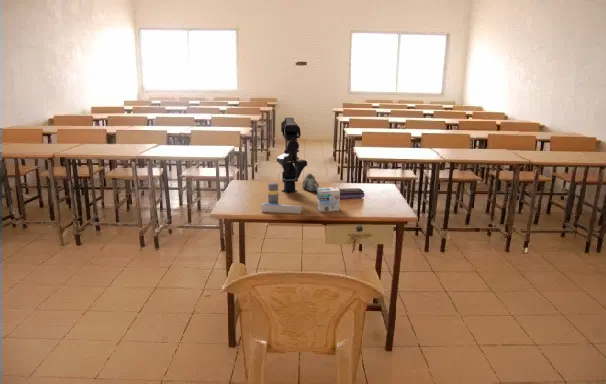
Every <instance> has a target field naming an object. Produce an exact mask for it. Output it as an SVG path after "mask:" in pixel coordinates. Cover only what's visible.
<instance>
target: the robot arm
mask: <svg viewBox="0 0 606 384" xmlns="http://www.w3.org/2000/svg"><path fill="white" fill-rule="evenodd" d="M294 120H295V119H294V117H284V120H283V121H281V123H280V132H281V133H282V134H281V135H282V137H283V139H284V144H285V145H284V146H285V147H284V151H283V153H282V154H280V155H279V156H277V157H276V162H277V163H278V164H279V165H280V166H282V170H283V171H282V172H281V173H282V174H281V181H282V183H283V189H282V190H281V192H284V193H286V194H292V193H296V192H297V191H298V189H297V190H296V182H299V181H298V180H299V178H300V176H301V174H302V172H303V171H304V169H305V168H306V167H307V166H308V161H307V160H305V159H300V157H298V153H299V151H300V150H299V148H300V144H299V142H298V139H300V138H301V136H302V135H301V128H300V126H299V125H298V123H296V122H295V121H294Z"/></svg>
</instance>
